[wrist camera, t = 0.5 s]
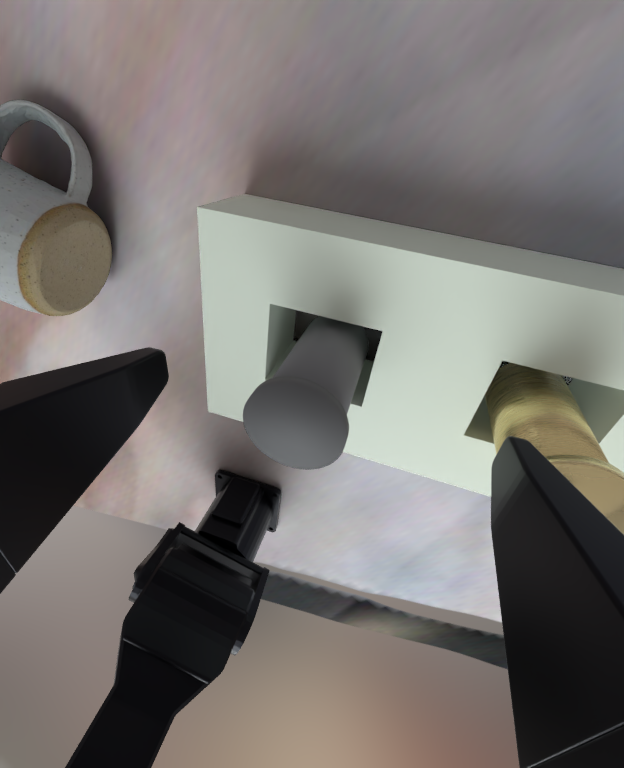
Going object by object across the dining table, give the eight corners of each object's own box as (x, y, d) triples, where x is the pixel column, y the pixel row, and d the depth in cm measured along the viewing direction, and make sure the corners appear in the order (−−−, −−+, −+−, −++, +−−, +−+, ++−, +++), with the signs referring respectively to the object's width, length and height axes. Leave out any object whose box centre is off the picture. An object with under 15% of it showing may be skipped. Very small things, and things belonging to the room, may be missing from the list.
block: (583, 466, 23) (613, 533, 19) (241, 371, 27) (207, 411, 23) (733, 290, 16) (829, 338, 12) (244, 193, 20) (196, 206, 16)
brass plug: (545, 431, 19) (595, 563, 13) (466, 410, 20) (479, 526, 14) (590, 367, 17) (676, 492, 11) (498, 345, 18) (532, 452, 12)
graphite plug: (364, 383, 21) (335, 481, 15) (296, 364, 22) (241, 451, 16) (382, 317, 19) (356, 403, 12) (304, 298, 19) (243, 371, 13)
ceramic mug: (121, 301, 27) (27, 347, 20) (23, 255, 27) (-100, 287, 21) (123, 136, 20) (-11, 130, 14) (-5, 79, 21) (-193, 48, 14)
